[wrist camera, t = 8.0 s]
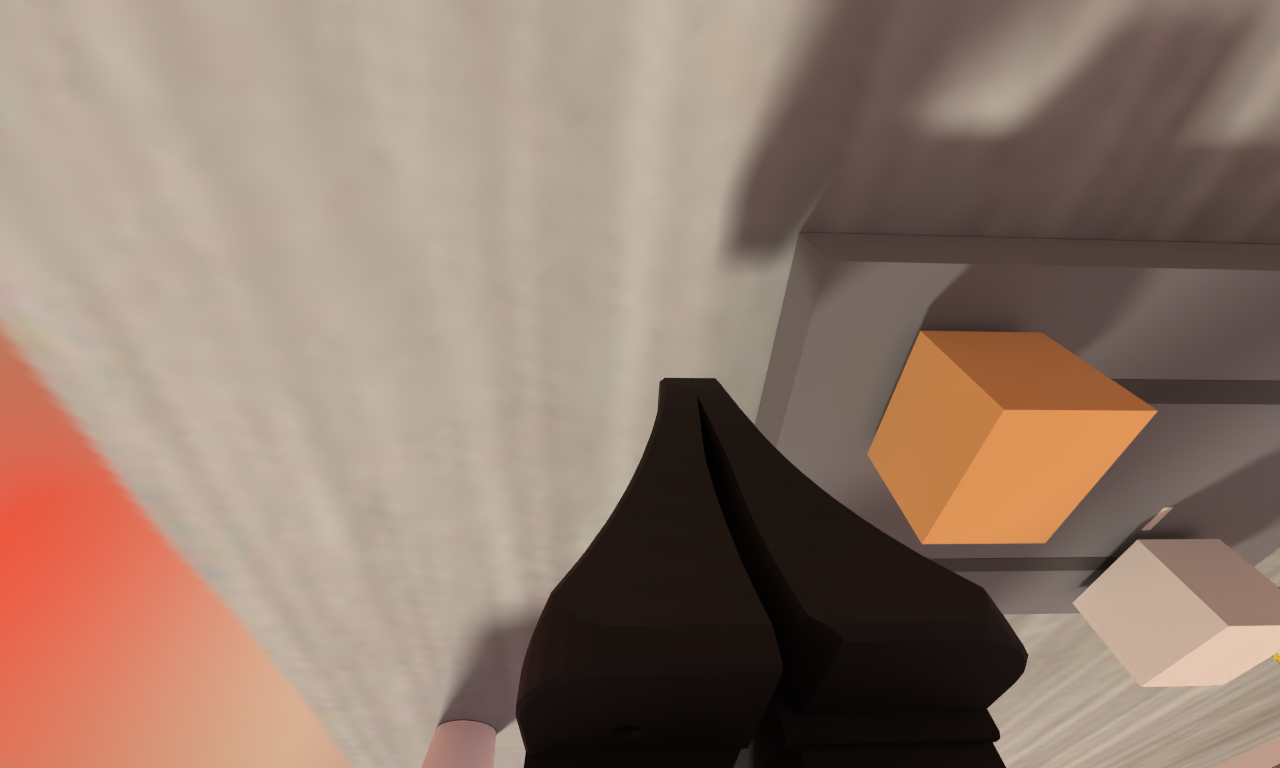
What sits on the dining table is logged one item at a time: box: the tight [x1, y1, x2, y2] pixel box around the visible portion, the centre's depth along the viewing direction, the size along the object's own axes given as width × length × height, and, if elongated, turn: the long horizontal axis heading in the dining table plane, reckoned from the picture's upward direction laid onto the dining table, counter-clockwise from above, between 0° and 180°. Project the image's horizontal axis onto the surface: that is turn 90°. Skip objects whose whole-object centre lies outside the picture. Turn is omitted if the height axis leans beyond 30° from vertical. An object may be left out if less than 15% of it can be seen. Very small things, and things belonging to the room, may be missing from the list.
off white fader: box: [1073, 539, 1280, 687], centre depth 16 cm, size 4×3×3 cm
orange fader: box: [867, 331, 1158, 544], centre depth 11 cm, size 4×3×3 cm
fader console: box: [755, 232, 1280, 614], centre depth 16 cm, size 15×20×2 cm
